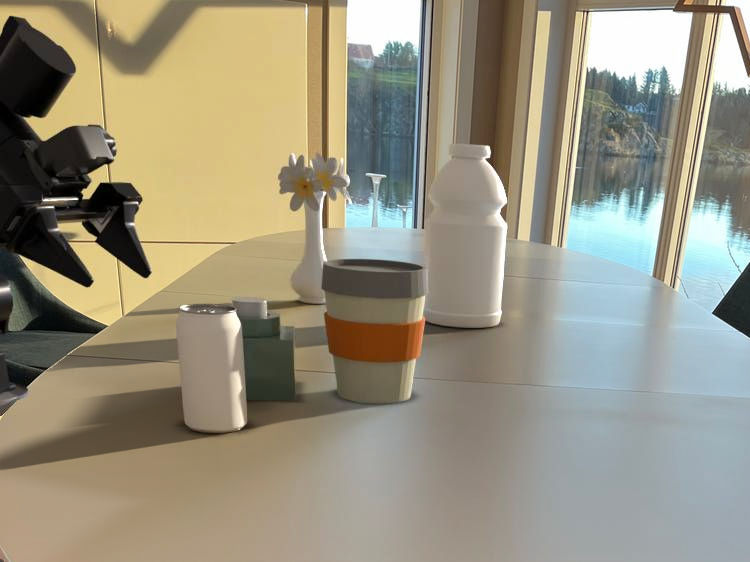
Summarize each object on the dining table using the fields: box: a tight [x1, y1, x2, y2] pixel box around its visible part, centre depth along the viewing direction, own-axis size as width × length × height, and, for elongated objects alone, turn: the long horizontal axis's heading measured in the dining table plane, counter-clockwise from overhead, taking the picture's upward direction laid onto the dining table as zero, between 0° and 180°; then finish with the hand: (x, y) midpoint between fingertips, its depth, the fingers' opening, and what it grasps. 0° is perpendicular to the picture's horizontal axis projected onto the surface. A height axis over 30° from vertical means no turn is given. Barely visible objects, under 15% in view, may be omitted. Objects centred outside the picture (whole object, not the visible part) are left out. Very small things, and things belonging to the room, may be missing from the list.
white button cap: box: [231, 296, 268, 318], centre depth 110 cm, size 4×4×2 cm
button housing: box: [237, 310, 297, 402], centre depth 112 cm, size 10×9×9 cm
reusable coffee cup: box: [321, 258, 428, 405], centre depth 113 cm, size 13×13×15 cm
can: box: [175, 303, 248, 434], centre depth 98 cm, size 6×6×12 cm
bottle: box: [422, 142, 508, 329], centre depth 161 cm, size 14×14×28 cm
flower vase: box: [277, 152, 352, 305], centre depth 172 cm, size 13×18×25 cm
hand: (121, 279), depth 97 cm, fingers open, 9 cm apart
